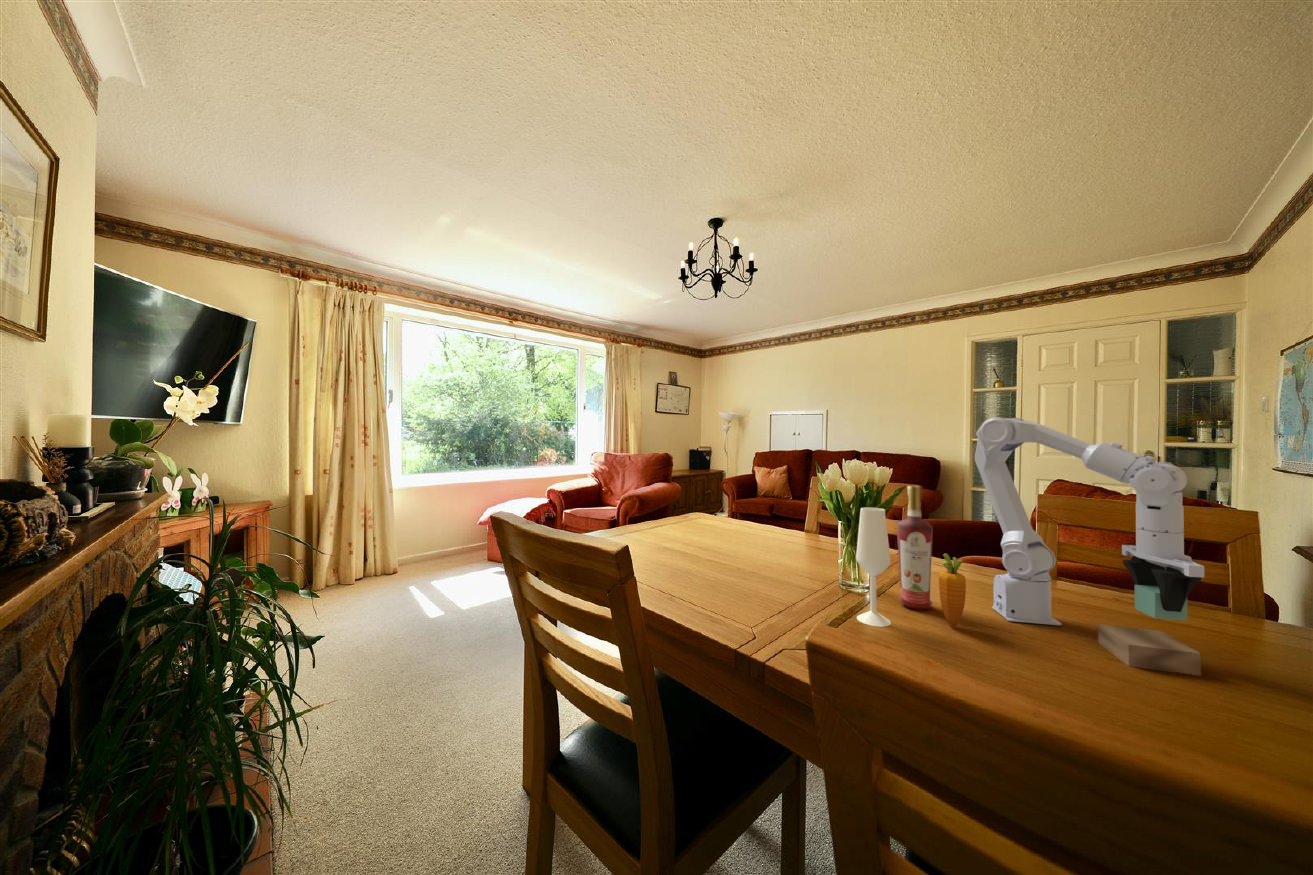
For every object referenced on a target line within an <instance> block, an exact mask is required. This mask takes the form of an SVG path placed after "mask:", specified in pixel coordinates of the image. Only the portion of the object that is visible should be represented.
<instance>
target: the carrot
mask: <svg viewBox="0 0 1313 875" xmlns="http://www.w3.org/2000/svg"><path fill="white" fill-rule="evenodd" d="M942 556H943V558H944V559H945V562H942V563H941V564H942V565H943V566H944V568H946V570H943V571H941V572H940V573H939V575H938V586H939V587H938V589H939V599H940V605H941V609H942V612H943V615H944V617H945V620H946V621H947V623H948V625H949V626H950V627H951V628H953V629H954V628H955V627H957V626H958V624H959V622H960V620H961V619H962V616H963V614H964V609H965V604H966V592H967V591H966V590H967V585H966V584H967V582H966V576H965V575H964V574H962V573H960V572H958V570H959V568H960V566H961V565H962V564H963V560H961V559H959V560H958V558H957V557H955V556H954V557H952V559H951V557H950V556H949V554H948V553H944V554H943V555H942Z"/></svg>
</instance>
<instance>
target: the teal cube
mask: <svg viewBox="0 0 1313 875" xmlns="http://www.w3.org/2000/svg"><path fill="white" fill-rule="evenodd" d="M1134 610H1136V611H1139V612H1140V613H1143V614H1145V615H1147V616H1149V617H1151V618H1153V619H1159V620H1160V619H1161V620H1170V621H1171V620H1173V621H1183V622H1184V621H1185V622H1188V597H1187V598H1186V601H1185V603H1184V606H1183V608H1182V611H1181V612H1173V611H1166V610H1163V607H1162V604H1161V597H1160V590H1159V586H1147V585H1135V584H1134Z"/></svg>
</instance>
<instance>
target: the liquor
mask: <svg viewBox="0 0 1313 875" xmlns="http://www.w3.org/2000/svg"><path fill="white" fill-rule="evenodd" d="M921 489H922V488H921V486H919V485H907V497H908V503H907V504H908V505H907V512H906V513H907V516H906V518H905V519H903V520H900V521H899V522H897V523H896V535H897V537H896V538H897V539H896V540H897V553H898V565H899V566H898V567H899V585H900V587H899V588H900V591H899V592H900V593H899V596H898V598H897V599H898V600H899V601H900V602H901V603H902V604H903V605H904V606H905V607H906V608H909V609H912V610H916V611H924V610H927V609H928V608H929V607H931V606H932V605H933V601H932V600H931V577H932V576H931V574H932V573H931V571H932V570H931V569H932V556H933V535H934V534H933V533H934V531H933V529H934V527H933V525H932V524H930V523H929V522H927V521H926V520H925V521H924V520H923V519H922V509H921V495H922V493H921Z"/></svg>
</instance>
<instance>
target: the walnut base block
mask: <svg viewBox="0 0 1313 875" xmlns="http://www.w3.org/2000/svg"><path fill="white" fill-rule="evenodd" d="M1097 626H1098V627H1097V631H1098V636H1097V637H1098V639H1097V640H1098V645H1100V646H1101V647H1103V648H1104V649H1105V650H1107V651H1108V652H1109V653H1110V654H1112V655H1113V656H1114V657H1116V658H1117V659H1119V661H1121V662H1122V663H1124V664H1125V665H1126V666H1128V667H1132V668H1139V669H1148V670H1156V671H1163V672H1170V673H1176V672H1180V673H1179V674H1183V673H1185V675H1190V674H1192V675H1193V676H1199V677H1201V676H1202V663H1201V661H1202V660H1201V658H1202V656H1201V653H1200V652H1199V651H1197V650H1195V649H1194V648H1192V647H1190V646H1188V645H1187V644H1185V643H1183V642H1181V641H1180V640H1178V639H1176V638H1175V637H1172V636H1171V635H1169V634H1167V633H1166V632H1164V631H1162V630H1154V629H1145V628H1138V627H1137V628H1135V627H1128V626H1127V627H1126V626H1118V625H1108V624H1099V623H1098V624H1097Z"/></svg>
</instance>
